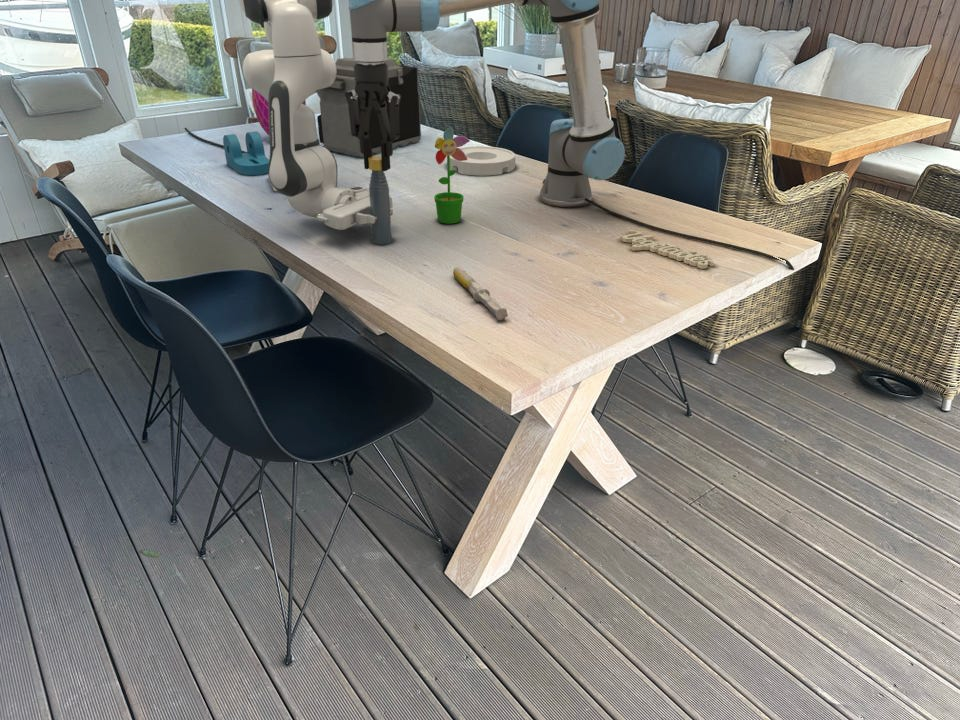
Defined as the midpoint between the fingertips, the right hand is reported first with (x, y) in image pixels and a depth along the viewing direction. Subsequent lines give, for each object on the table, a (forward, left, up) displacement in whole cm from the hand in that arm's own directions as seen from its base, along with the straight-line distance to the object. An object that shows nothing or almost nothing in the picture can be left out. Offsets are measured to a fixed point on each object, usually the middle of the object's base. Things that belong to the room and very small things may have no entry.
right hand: (377, 168), depth 163 cm
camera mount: (+75, -38, -18) cm, 86 cm away
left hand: (-1, 0, -12) cm, 12 cm away
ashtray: (+8, -76, -18) cm, 78 cm away
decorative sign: (-65, -25, -18) cm, 72 cm away
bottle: (0, 0, -18) cm, 18 cm away
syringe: (-36, +19, -18) cm, 44 cm away
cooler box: (+57, -83, -18) cm, 102 cm away
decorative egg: (+92, -76, -18) cm, 120 cm away
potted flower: (-8, -22, -18) cm, 29 cm away
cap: (0, 0, +2) cm, 2 cm away
